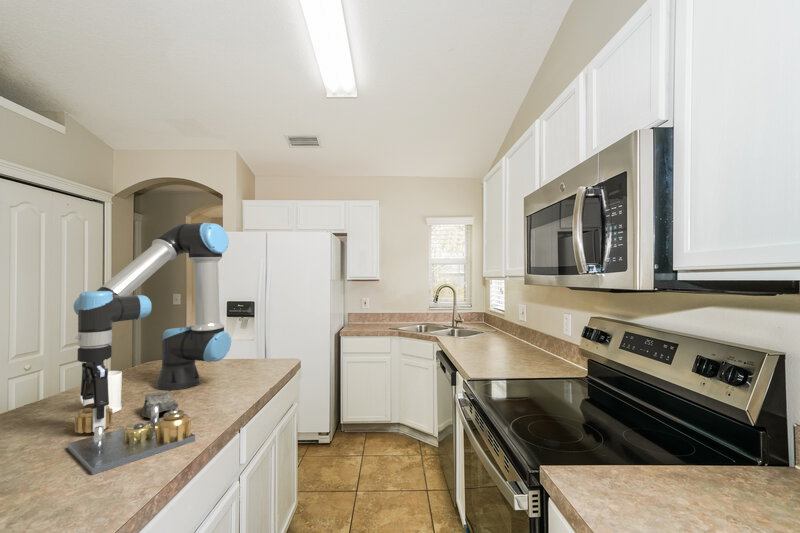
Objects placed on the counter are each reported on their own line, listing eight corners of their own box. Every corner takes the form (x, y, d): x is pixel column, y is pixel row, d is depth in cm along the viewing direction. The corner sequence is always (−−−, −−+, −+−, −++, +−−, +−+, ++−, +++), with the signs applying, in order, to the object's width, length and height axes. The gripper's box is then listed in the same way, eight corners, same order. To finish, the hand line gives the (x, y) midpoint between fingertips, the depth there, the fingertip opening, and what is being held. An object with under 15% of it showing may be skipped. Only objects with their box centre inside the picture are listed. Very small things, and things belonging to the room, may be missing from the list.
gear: (106, 418, 112) (107, 397, 112) (116, 425, 107) (116, 404, 107) (71, 427, 106) (71, 405, 106) (79, 435, 101) (80, 412, 101)
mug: (85, 421, 113) (87, 381, 114) (70, 416, 117) (71, 377, 117) (127, 408, 124) (128, 372, 124) (111, 405, 127) (113, 369, 128)
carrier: (163, 422, 113) (164, 394, 113) (196, 441, 101) (197, 410, 101) (67, 449, 95) (68, 416, 96) (93, 475, 83) (94, 437, 83)
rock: (180, 415, 119) (180, 394, 119) (150, 424, 112) (150, 402, 112) (161, 406, 127) (161, 387, 127) (131, 414, 120) (132, 393, 120)
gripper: (67, 343, 110) (66, 420, 110) (89, 353, 97) (88, 441, 97) (99, 339, 116) (98, 413, 116) (124, 348, 103) (123, 431, 103)
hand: (93, 425), depth 107 cm, fingers closed on gear, 8 cm apart
